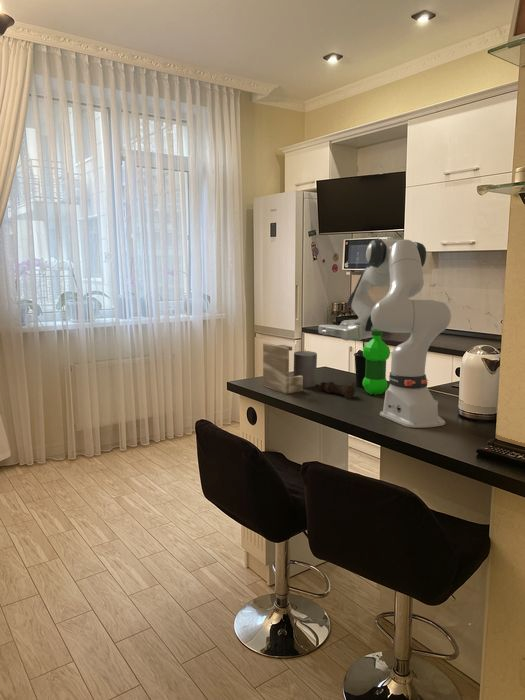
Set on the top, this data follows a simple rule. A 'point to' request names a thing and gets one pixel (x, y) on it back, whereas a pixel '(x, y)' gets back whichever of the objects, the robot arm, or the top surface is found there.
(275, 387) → the cradle
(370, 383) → the plastic bottle
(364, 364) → the drinking cup
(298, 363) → the pillar candle
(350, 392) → the bolt
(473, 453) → the top surface
